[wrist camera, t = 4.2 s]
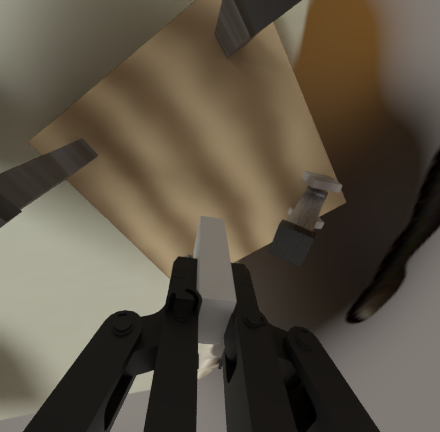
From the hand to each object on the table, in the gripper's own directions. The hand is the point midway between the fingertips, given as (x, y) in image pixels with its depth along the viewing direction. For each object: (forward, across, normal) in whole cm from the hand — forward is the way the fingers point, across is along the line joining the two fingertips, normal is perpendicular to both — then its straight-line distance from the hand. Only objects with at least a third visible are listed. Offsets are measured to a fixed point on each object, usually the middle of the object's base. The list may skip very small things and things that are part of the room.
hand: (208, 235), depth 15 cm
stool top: (+14, 0, 0) cm, 14 cm away
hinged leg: (+6, +8, 0) cm, 10 cm away
